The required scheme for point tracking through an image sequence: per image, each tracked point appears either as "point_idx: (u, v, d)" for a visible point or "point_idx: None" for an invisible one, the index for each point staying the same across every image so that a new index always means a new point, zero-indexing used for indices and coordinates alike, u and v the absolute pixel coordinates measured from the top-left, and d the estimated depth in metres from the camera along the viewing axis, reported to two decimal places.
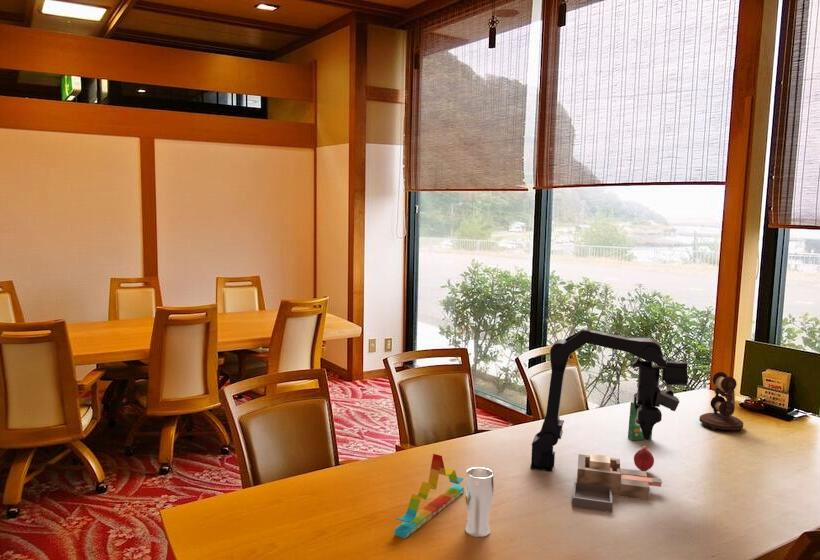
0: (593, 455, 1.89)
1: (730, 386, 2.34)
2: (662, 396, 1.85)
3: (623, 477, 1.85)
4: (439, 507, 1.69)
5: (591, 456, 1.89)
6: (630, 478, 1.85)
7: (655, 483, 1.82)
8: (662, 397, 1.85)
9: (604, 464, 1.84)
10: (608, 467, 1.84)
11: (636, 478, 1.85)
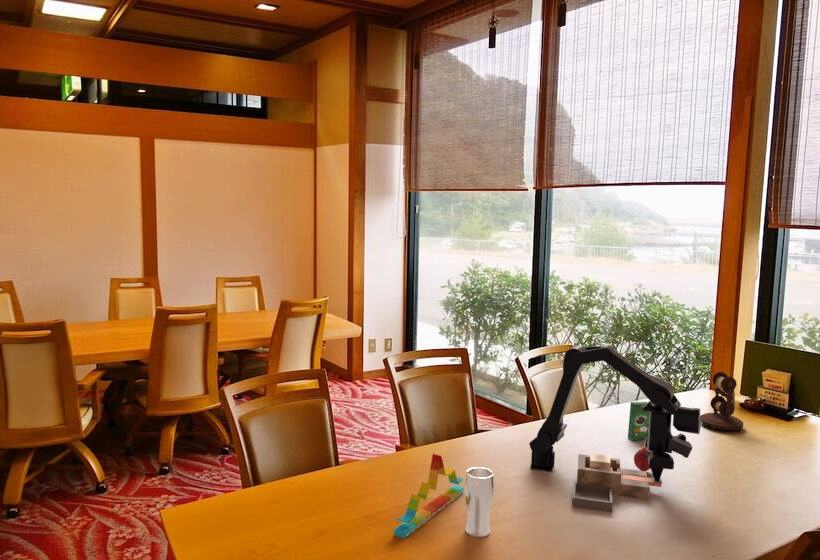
0: (593, 455, 1.89)
1: (730, 386, 2.34)
2: (674, 442, 1.79)
3: (623, 477, 1.85)
4: (439, 507, 1.69)
5: (591, 456, 1.89)
6: (630, 478, 1.85)
7: (655, 483, 1.82)
8: (674, 443, 1.79)
9: (604, 464, 1.84)
10: (608, 467, 1.84)
11: (636, 478, 1.85)
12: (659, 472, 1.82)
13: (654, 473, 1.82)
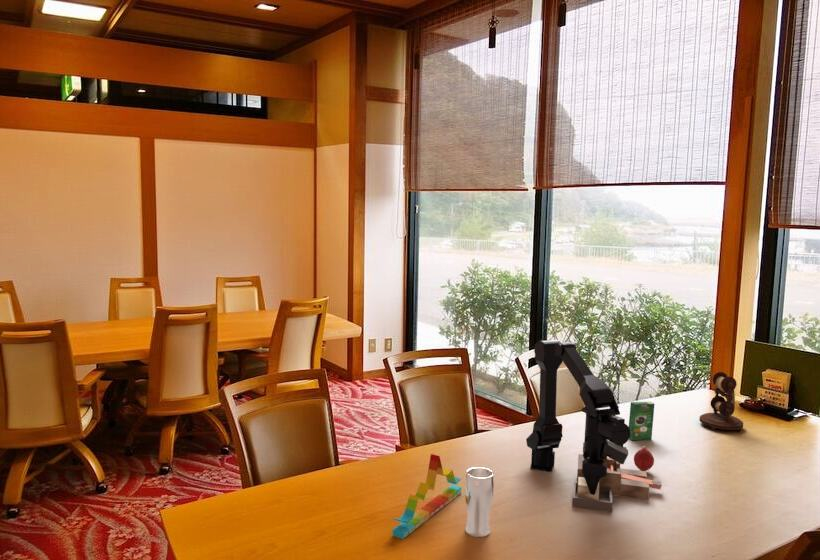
0: (581, 478, 1.79)
1: (730, 386, 2.34)
2: (610, 448, 1.73)
3: (623, 476, 1.85)
4: (437, 507, 1.69)
5: (579, 479, 1.79)
6: (630, 478, 1.85)
7: (655, 485, 1.82)
8: (610, 449, 1.72)
9: None
10: (597, 492, 1.74)
11: (636, 478, 1.85)
12: (594, 485, 1.71)
13: (589, 486, 1.72)
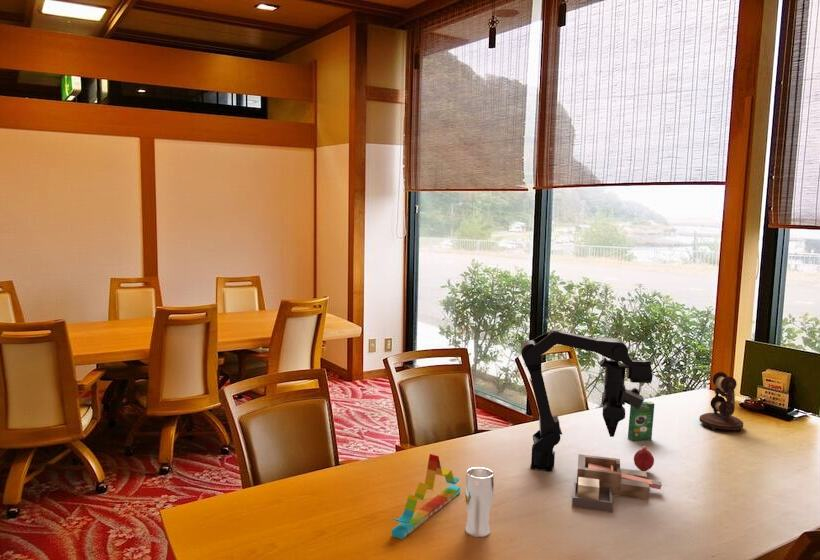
0: (581, 478, 1.79)
1: (730, 386, 2.34)
2: (627, 394, 1.92)
3: (623, 476, 1.85)
4: (436, 507, 1.69)
5: (579, 479, 1.79)
6: (630, 478, 1.85)
7: (655, 485, 1.82)
8: (627, 395, 1.92)
9: (593, 489, 1.74)
10: (597, 492, 1.74)
11: (636, 478, 1.85)
12: (614, 428, 1.91)
13: (609, 429, 1.91)
